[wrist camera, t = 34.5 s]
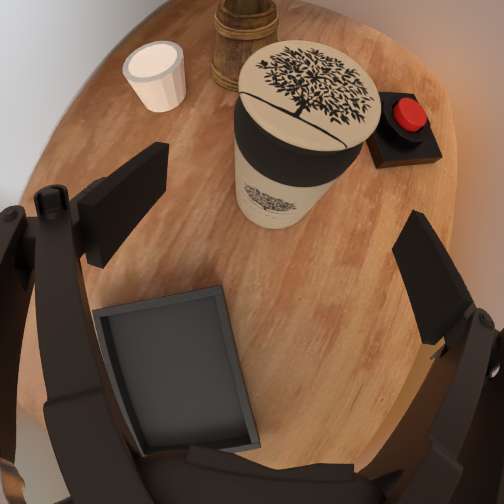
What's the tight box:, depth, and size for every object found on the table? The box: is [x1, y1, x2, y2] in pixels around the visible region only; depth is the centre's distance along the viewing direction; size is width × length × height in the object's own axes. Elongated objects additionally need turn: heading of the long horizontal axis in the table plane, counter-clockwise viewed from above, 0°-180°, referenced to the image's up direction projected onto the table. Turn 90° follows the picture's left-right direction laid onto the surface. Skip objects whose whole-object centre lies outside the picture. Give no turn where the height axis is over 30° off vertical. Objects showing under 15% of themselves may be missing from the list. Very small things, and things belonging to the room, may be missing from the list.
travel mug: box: [234, 40, 381, 229], centre depth 21 cm, size 8×8×18 cm
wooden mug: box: [211, 0, 279, 92], centre depth 24 cm, size 9×14×18 cm, turn 159°
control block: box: [366, 92, 442, 169], centre depth 30 cm, size 10×10×4 cm
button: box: [393, 98, 427, 132], centre depth 28 cm, size 4×4×2 cm
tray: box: [92, 285, 261, 457], centre depth 26 cm, size 18×14×2 cm
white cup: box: [123, 41, 186, 112], centre depth 28 cm, size 7×7×7 cm
